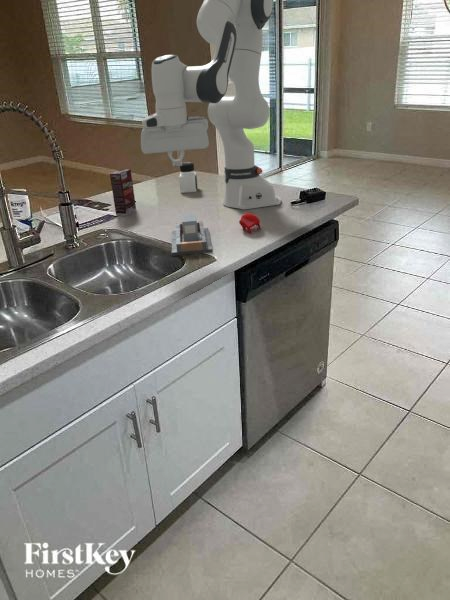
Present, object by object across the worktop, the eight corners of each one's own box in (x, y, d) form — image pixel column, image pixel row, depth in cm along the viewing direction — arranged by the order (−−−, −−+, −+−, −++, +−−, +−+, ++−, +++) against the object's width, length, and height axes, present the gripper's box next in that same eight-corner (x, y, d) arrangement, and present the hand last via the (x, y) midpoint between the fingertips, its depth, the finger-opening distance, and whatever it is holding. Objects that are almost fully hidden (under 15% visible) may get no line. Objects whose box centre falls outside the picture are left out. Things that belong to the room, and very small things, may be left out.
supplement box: (127, 216, 178) (120, 173, 171) (115, 215, 180) (108, 173, 173) (137, 209, 186) (131, 168, 178) (126, 209, 187) (119, 168, 180)
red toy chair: (245, 226, 150) (259, 214, 150) (234, 216, 153) (248, 204, 153) (252, 240, 156) (266, 228, 157) (242, 230, 160) (255, 219, 160)
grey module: (197, 235, 151) (195, 214, 148) (198, 242, 145) (196, 220, 142) (183, 236, 151) (181, 215, 148) (184, 244, 145) (182, 222, 142)
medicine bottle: (196, 192, 205) (194, 164, 199) (180, 193, 205) (177, 165, 200) (197, 188, 211) (195, 160, 206) (181, 189, 211) (179, 161, 206)
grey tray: (208, 230, 158) (207, 220, 156) (212, 252, 140) (211, 241, 138) (172, 233, 157) (171, 223, 156) (172, 255, 139) (170, 244, 138)
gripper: (206, 113, 141) (210, 160, 147) (138, 119, 139) (145, 166, 146) (208, 115, 135) (212, 164, 142) (136, 122, 134) (144, 171, 140)
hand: (177, 165), depth 144 cm, fingers closed
